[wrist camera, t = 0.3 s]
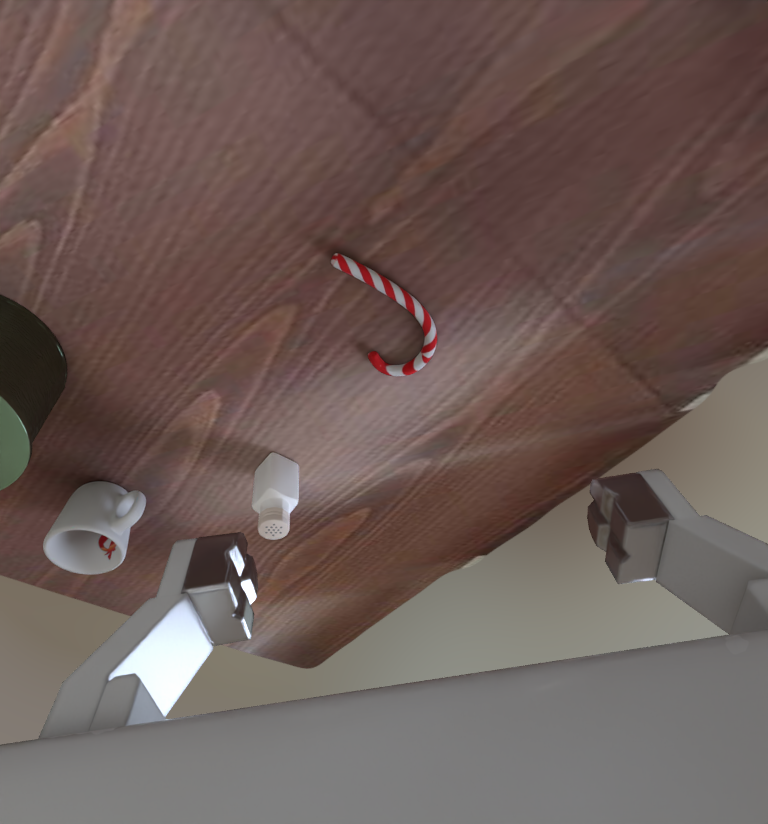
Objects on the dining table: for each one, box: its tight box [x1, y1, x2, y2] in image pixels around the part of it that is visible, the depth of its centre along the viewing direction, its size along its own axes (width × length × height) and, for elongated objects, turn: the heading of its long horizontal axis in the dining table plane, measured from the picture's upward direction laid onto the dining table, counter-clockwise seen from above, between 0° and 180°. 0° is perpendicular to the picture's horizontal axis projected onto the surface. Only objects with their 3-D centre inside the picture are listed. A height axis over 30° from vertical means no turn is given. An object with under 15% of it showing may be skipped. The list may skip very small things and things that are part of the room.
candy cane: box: [331, 253, 437, 376], centre depth 53 cm, size 8×1×15 cm
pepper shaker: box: [252, 452, 299, 540], centre depth 60 cm, size 4×4×10 cm
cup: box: [43, 481, 146, 574], centre depth 61 cm, size 11×8×8 cm
